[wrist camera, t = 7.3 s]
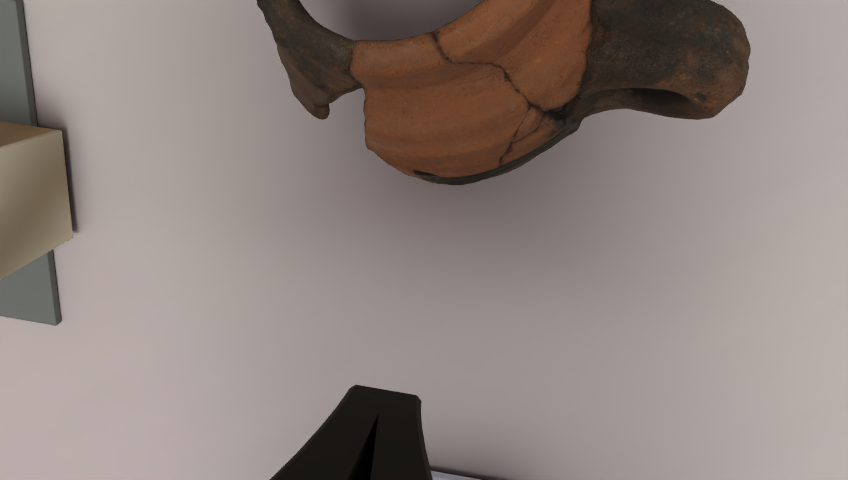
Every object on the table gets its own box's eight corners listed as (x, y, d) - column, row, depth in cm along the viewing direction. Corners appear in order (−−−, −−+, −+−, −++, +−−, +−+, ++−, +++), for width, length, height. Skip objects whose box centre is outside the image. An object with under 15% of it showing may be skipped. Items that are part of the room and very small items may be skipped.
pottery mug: (325, 178, 21) (164, 96, 13) (388, -74, 21) (270, -299, 14) (687, 250, 17) (765, 197, 10) (752, -53, 18) (877, -341, 10)
